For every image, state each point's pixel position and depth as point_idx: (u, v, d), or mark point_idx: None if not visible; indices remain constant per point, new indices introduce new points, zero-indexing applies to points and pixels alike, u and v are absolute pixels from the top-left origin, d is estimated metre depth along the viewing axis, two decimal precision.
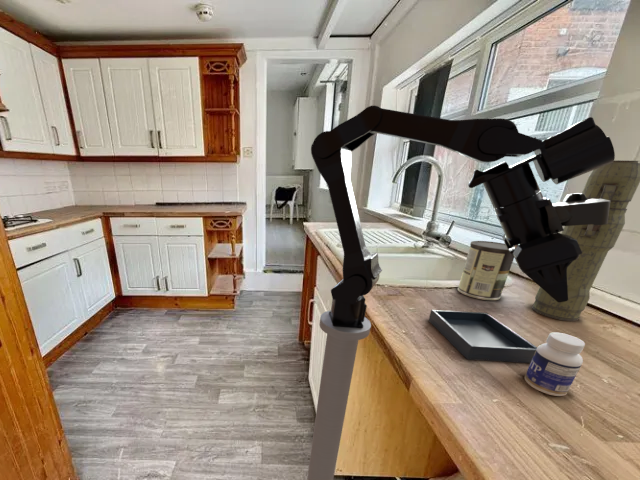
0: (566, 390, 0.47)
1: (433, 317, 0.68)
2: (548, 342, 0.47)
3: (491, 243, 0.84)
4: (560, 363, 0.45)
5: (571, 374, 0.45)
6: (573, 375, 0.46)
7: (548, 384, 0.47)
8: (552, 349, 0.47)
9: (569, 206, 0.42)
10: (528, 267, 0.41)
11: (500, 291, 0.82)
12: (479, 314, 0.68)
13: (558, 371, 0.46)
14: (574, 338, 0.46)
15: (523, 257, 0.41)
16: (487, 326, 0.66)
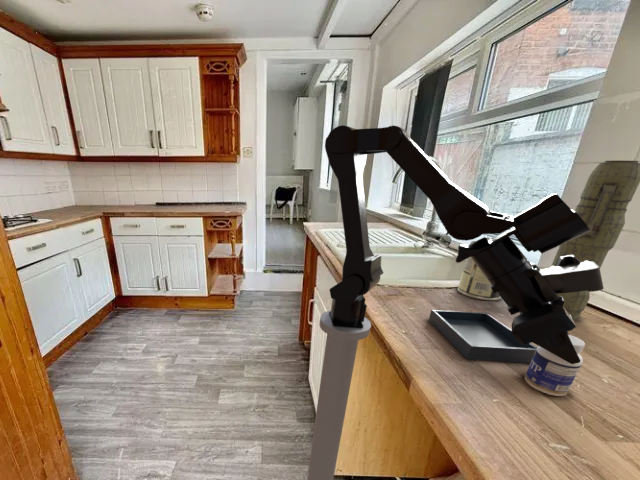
0: (566, 390, 0.47)
1: (433, 317, 0.68)
2: None
3: None
4: (560, 363, 0.45)
5: (571, 374, 0.45)
6: (573, 375, 0.46)
7: (548, 384, 0.47)
8: None
9: (558, 275, 0.43)
10: (526, 342, 0.42)
11: None
12: (479, 314, 0.68)
13: (558, 371, 0.46)
14: (574, 338, 0.46)
15: (518, 332, 0.42)
16: (487, 326, 0.66)
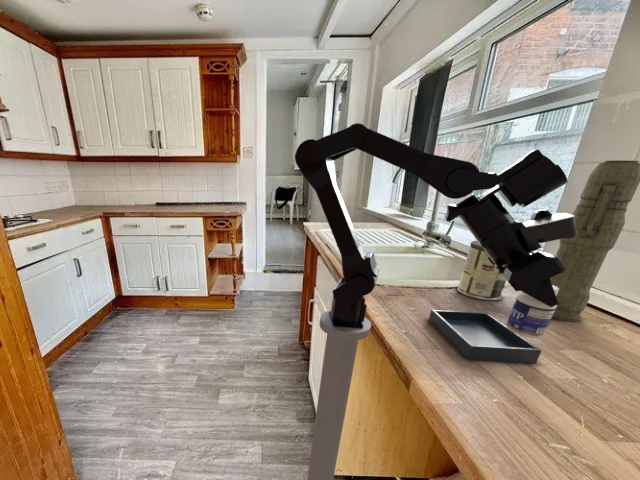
0: (544, 332, 0.52)
1: (433, 317, 0.68)
2: None
3: None
4: (541, 308, 0.50)
5: (548, 316, 0.50)
6: (550, 317, 0.51)
7: (530, 328, 0.52)
8: None
9: (540, 225, 0.47)
10: (522, 288, 0.45)
11: (500, 291, 0.82)
12: (479, 314, 0.68)
13: (539, 315, 0.50)
14: None
15: (515, 279, 0.45)
16: (487, 326, 0.66)
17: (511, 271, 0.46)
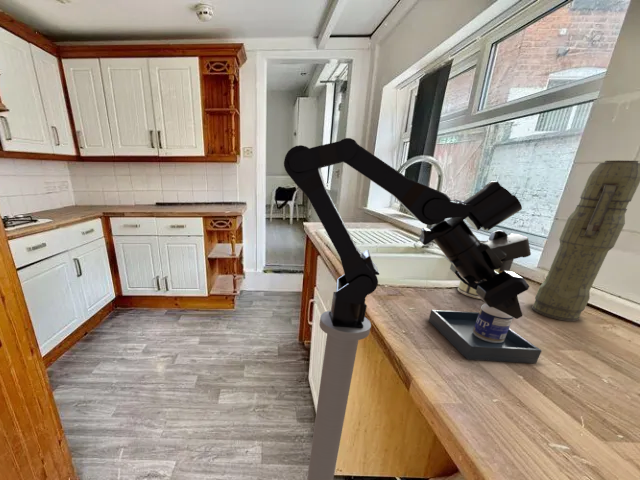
0: None
1: (433, 317, 0.68)
2: None
3: None
4: (503, 317, 0.57)
5: (509, 324, 0.58)
6: None
7: (495, 335, 0.59)
8: None
9: (502, 247, 0.53)
10: (495, 304, 0.51)
11: None
12: None
13: (502, 323, 0.58)
14: None
15: (490, 297, 0.50)
16: None
17: (485, 290, 0.51)
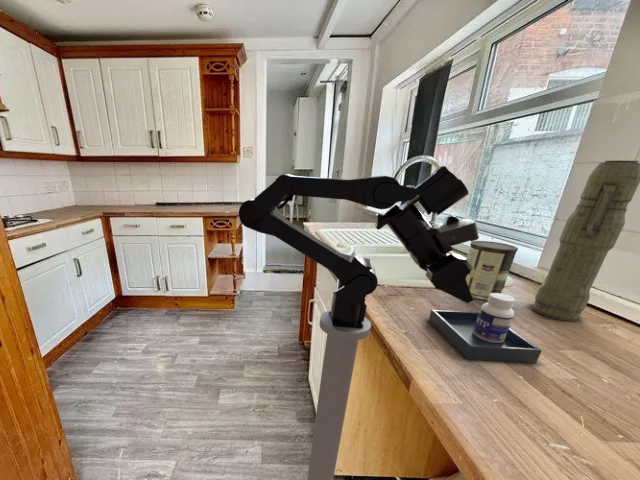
0: None
1: (433, 317, 0.68)
2: (491, 302, 0.58)
3: (491, 243, 0.84)
4: (503, 317, 0.57)
5: (509, 324, 0.58)
6: None
7: (495, 335, 0.59)
8: (494, 307, 0.58)
9: (451, 231, 0.54)
10: (441, 286, 0.52)
11: (500, 291, 0.82)
12: None
13: (502, 323, 0.58)
14: (505, 295, 0.59)
15: (435, 279, 0.51)
16: None
17: (432, 272, 0.52)
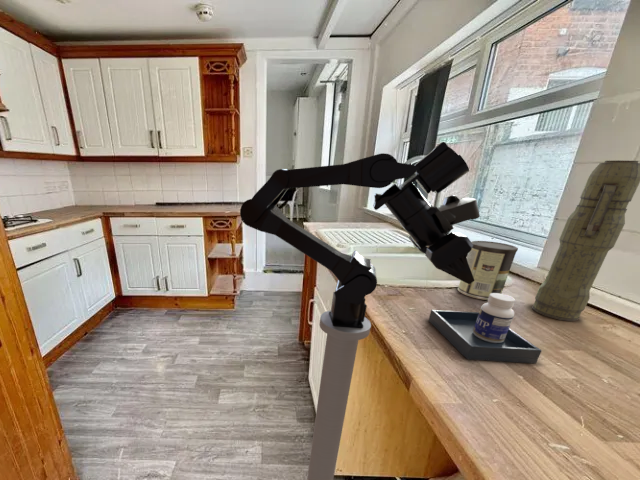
0: None
1: (433, 317, 0.68)
2: (491, 302, 0.58)
3: (491, 243, 0.84)
4: (503, 317, 0.57)
5: (509, 324, 0.58)
6: None
7: (495, 335, 0.59)
8: (494, 307, 0.58)
9: (451, 209, 0.53)
10: (441, 265, 0.50)
11: (500, 291, 0.82)
12: None
13: (502, 323, 0.58)
14: (505, 295, 0.59)
15: (435, 258, 0.50)
16: None
17: (431, 251, 0.51)
